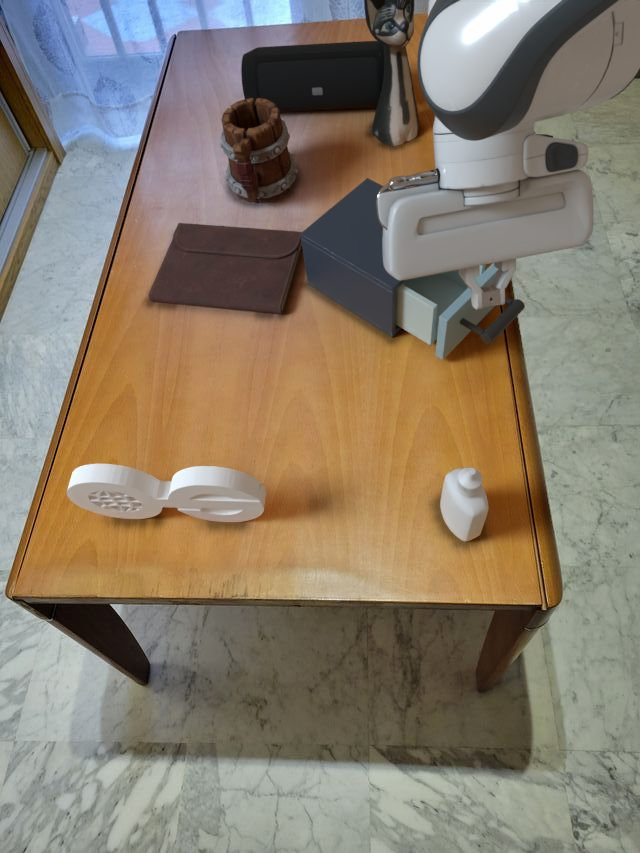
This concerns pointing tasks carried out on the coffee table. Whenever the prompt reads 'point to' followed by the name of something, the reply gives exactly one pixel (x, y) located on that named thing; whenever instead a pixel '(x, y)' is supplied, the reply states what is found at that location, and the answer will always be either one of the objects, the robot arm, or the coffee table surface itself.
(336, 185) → the coffee table surface
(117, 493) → the white double disc plate
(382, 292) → the cabinet
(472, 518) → the eye dropper bottle
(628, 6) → the robot arm
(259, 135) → the mug
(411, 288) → the drawer
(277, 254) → the brown leather sleeve case
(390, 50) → the figurine
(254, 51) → the portable speaker
